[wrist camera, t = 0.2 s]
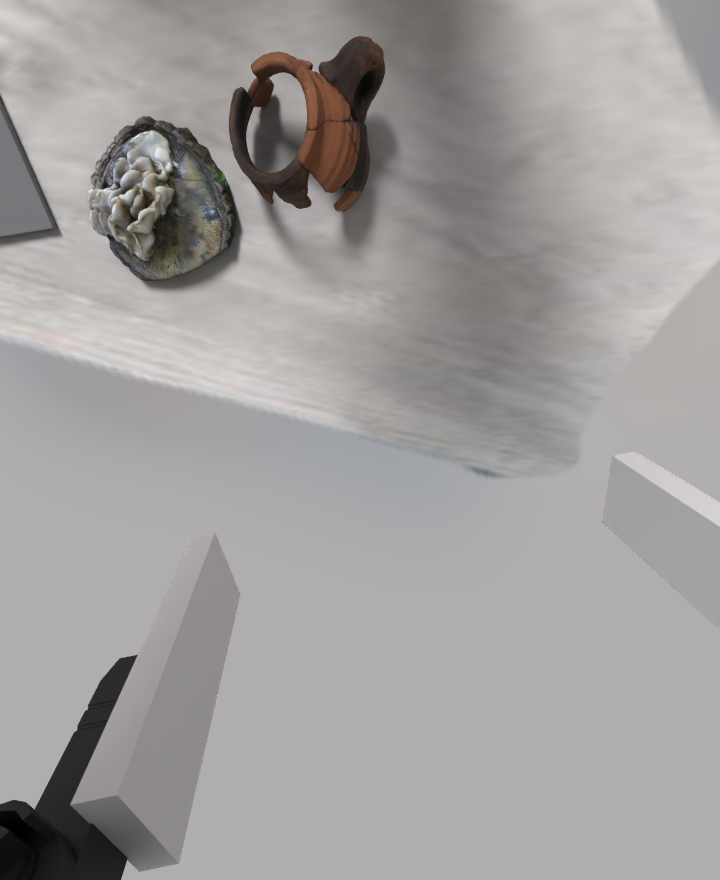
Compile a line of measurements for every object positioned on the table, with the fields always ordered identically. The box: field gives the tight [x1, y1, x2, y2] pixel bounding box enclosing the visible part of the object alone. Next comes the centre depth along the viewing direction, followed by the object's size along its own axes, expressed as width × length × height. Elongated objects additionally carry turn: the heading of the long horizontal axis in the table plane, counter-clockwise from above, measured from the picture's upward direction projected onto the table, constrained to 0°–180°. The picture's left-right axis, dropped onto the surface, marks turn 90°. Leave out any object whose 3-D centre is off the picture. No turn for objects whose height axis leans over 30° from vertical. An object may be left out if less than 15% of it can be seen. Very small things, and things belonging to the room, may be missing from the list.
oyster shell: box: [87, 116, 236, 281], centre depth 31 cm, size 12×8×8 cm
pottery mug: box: [229, 36, 385, 211], centre depth 28 cm, size 12×10×8 cm
